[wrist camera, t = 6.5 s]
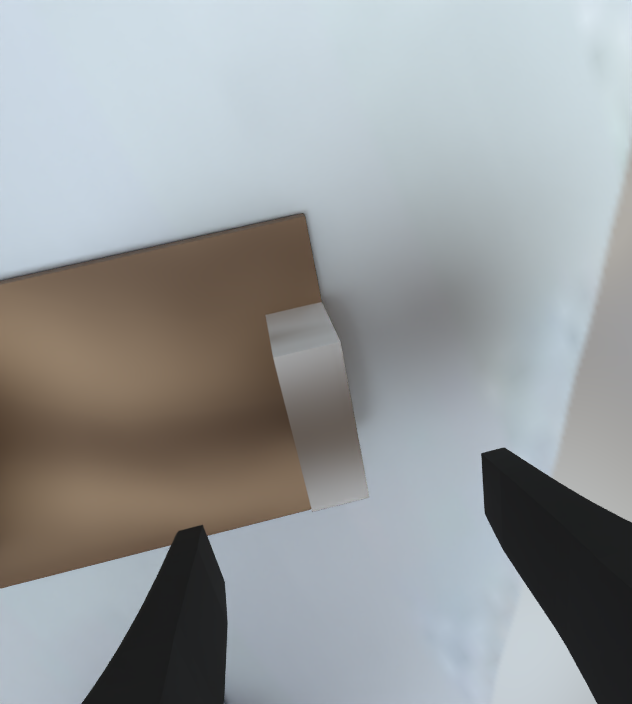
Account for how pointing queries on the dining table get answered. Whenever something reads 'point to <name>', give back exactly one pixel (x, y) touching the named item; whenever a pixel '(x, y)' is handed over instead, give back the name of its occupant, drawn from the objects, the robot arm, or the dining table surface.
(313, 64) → the dining table surface
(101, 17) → the dining table surface
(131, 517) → the brown wooden flat board
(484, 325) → the dining table surface
